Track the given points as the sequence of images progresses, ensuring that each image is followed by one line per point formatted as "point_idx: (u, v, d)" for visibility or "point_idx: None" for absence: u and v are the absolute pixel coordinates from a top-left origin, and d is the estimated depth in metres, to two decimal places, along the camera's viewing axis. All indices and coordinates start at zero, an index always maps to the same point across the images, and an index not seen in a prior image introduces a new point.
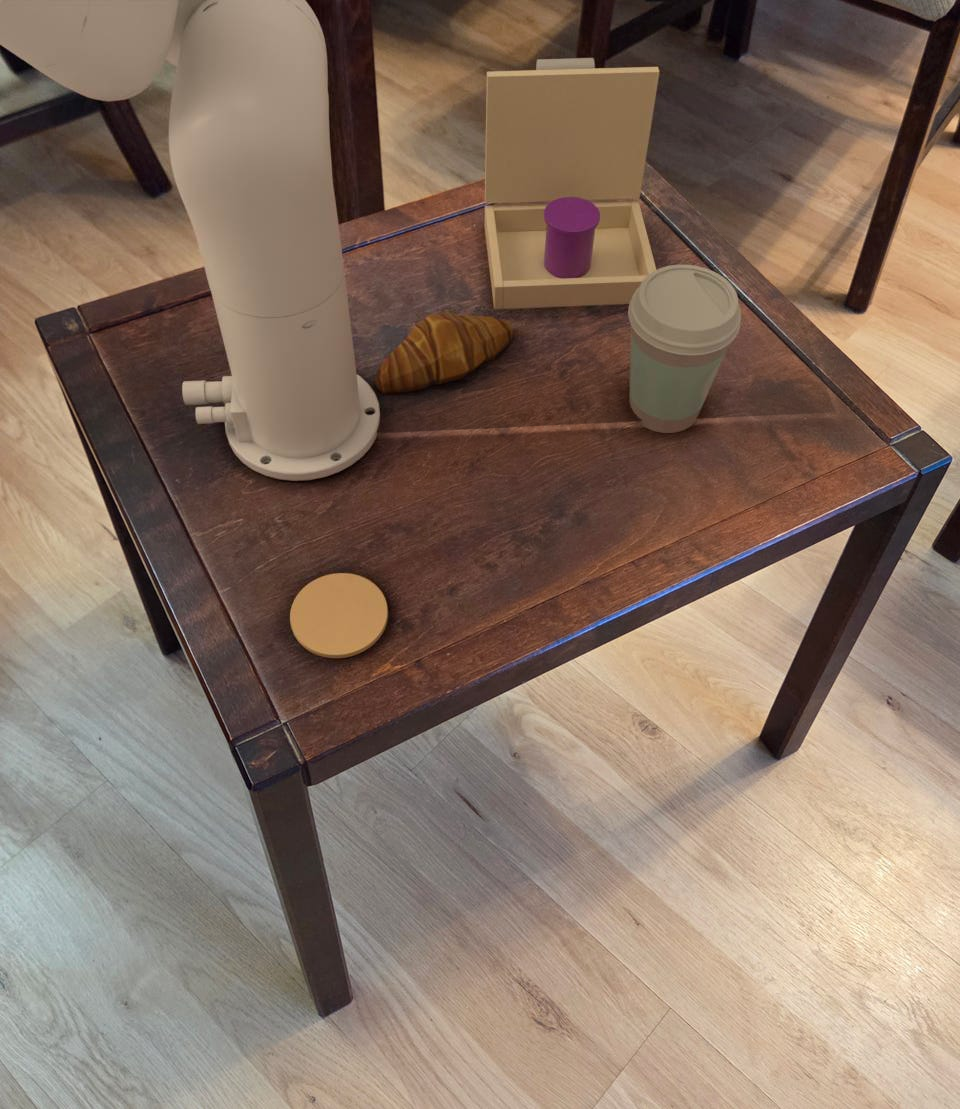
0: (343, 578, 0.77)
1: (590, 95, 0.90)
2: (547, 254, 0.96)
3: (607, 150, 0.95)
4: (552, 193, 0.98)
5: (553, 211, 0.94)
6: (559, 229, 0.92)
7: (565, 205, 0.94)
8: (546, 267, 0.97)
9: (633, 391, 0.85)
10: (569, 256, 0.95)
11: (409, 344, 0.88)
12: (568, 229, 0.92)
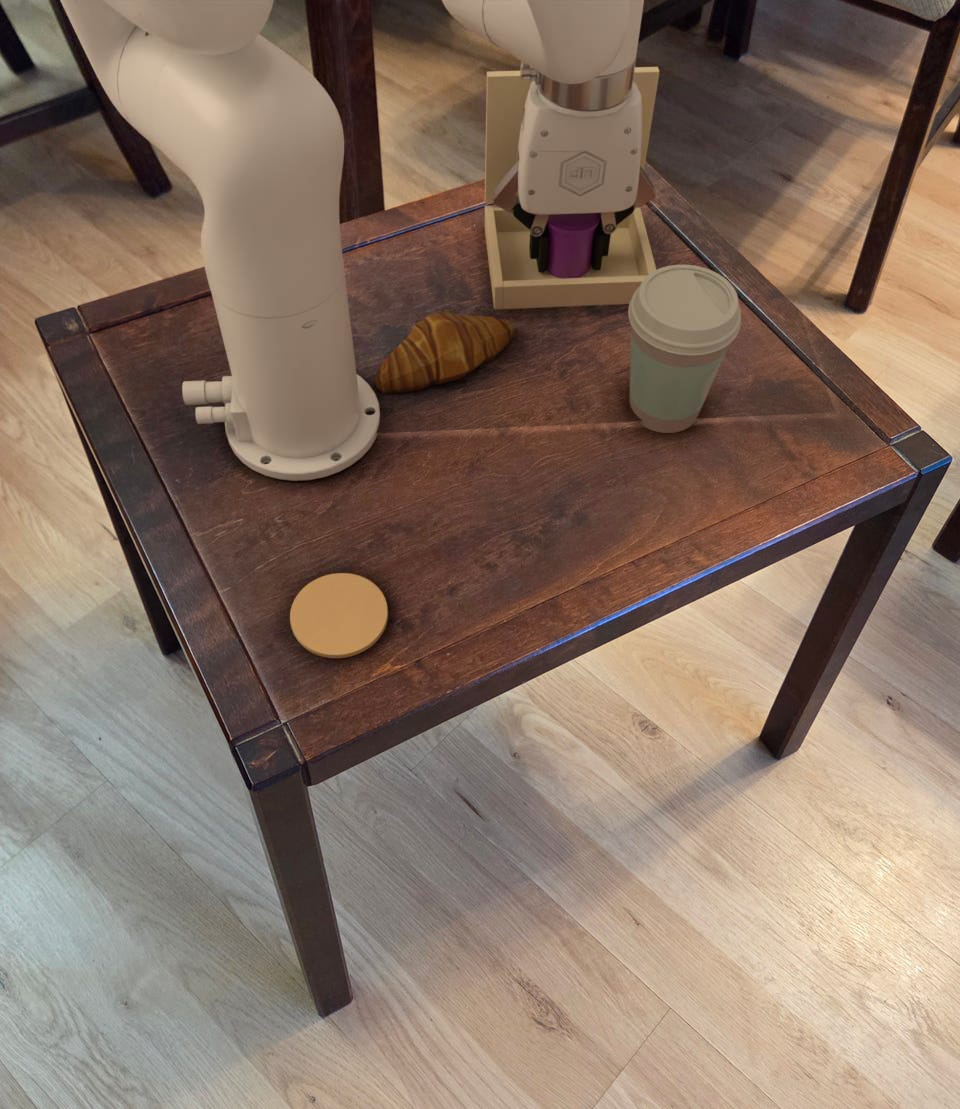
0: (343, 578, 0.77)
1: None
2: None
3: None
4: None
5: None
6: (559, 229, 0.92)
7: None
8: None
9: (633, 391, 0.85)
10: (569, 256, 0.95)
11: (409, 344, 0.88)
12: (568, 228, 0.92)
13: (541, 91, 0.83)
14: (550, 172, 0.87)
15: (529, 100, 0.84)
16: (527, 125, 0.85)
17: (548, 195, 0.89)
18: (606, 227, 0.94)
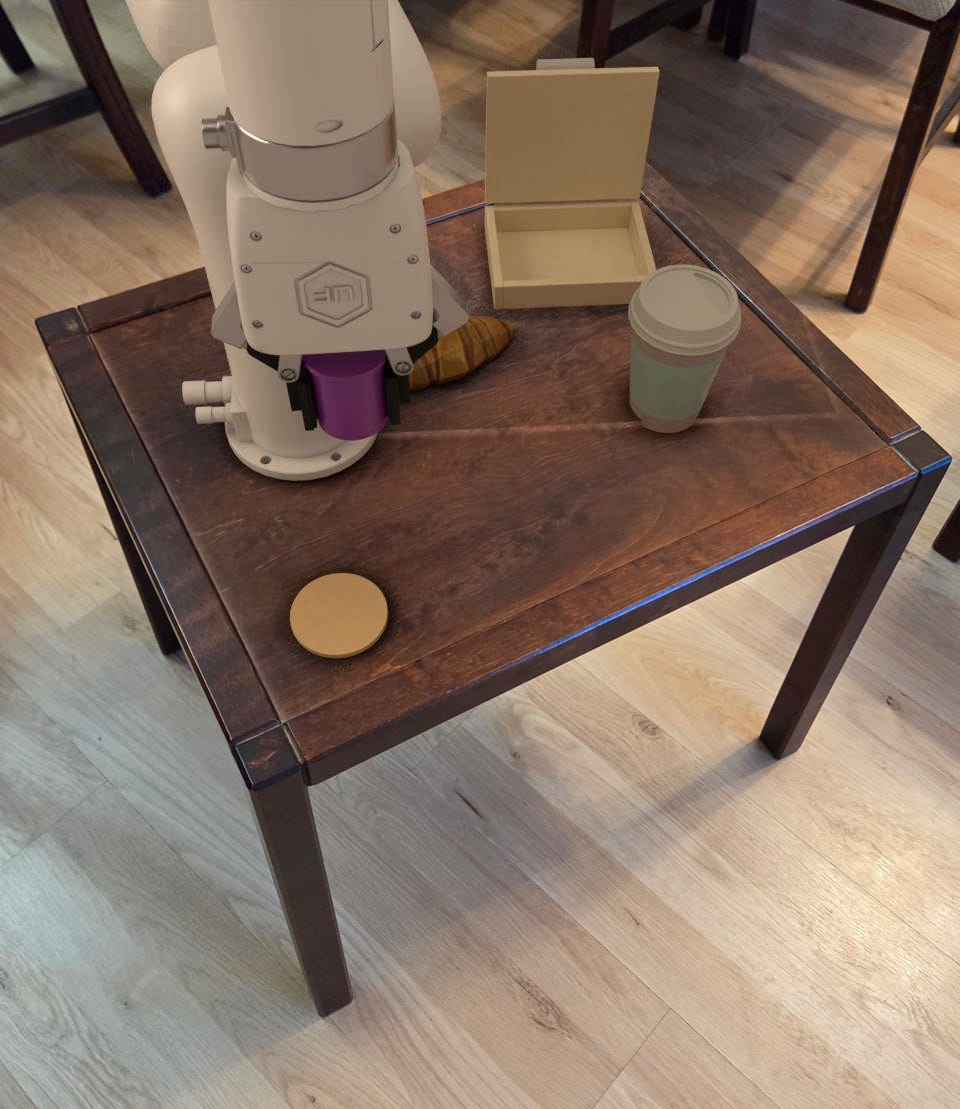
0: (343, 578, 0.77)
1: (590, 95, 0.90)
2: (315, 405, 0.63)
3: (607, 150, 0.95)
4: (552, 193, 0.98)
5: None
6: (320, 373, 0.59)
7: None
8: (319, 422, 0.64)
9: (633, 391, 0.85)
10: (345, 410, 0.61)
11: None
12: (333, 372, 0.59)
13: (240, 168, 0.49)
14: (280, 294, 0.53)
15: (227, 182, 0.50)
16: (228, 223, 0.51)
17: (286, 328, 0.55)
18: (398, 366, 0.60)
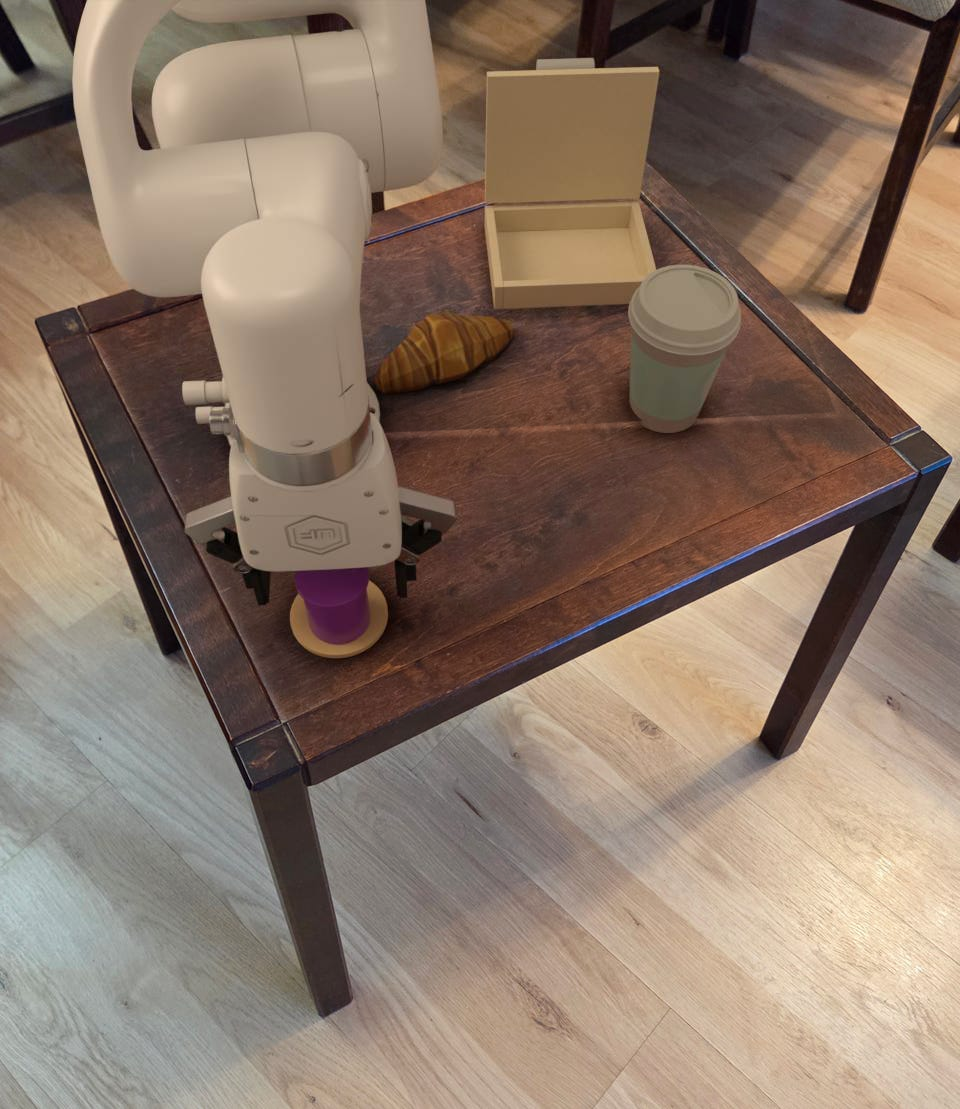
0: None
1: (590, 95, 0.90)
2: (307, 615, 0.74)
3: (607, 150, 0.95)
4: (552, 193, 0.98)
5: (307, 570, 0.71)
6: (311, 601, 0.70)
7: None
8: (310, 626, 0.75)
9: (633, 391, 0.85)
10: (332, 625, 0.72)
11: (409, 344, 0.88)
12: (322, 601, 0.70)
13: (241, 451, 0.60)
14: (273, 535, 0.64)
15: None
16: (230, 485, 0.62)
17: (278, 555, 0.66)
18: (406, 559, 0.70)
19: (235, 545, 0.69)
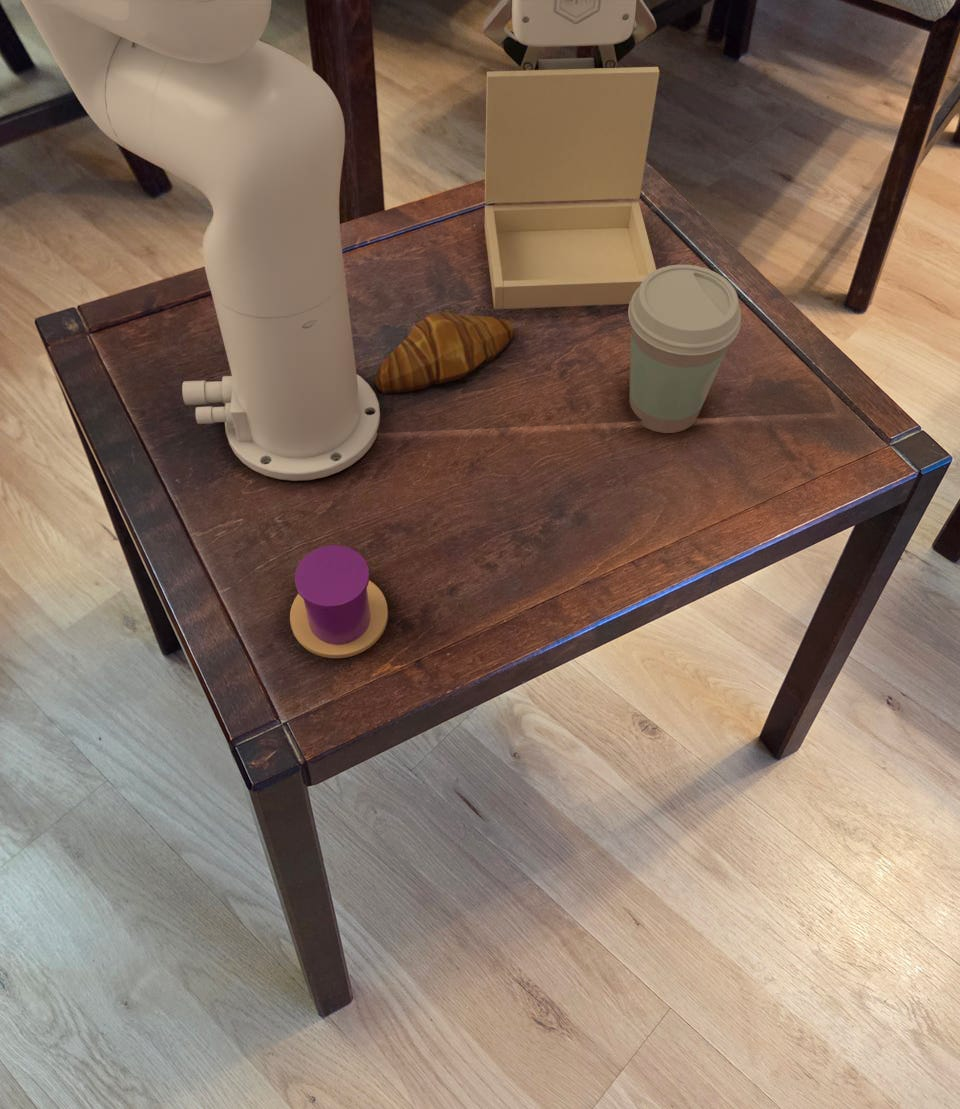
0: None
1: (590, 95, 0.90)
2: (307, 615, 0.74)
3: (607, 150, 0.95)
4: (552, 193, 0.98)
5: (307, 570, 0.71)
6: (311, 601, 0.70)
7: (325, 560, 0.72)
8: (310, 626, 0.75)
9: (633, 391, 0.85)
10: (332, 625, 0.72)
11: (409, 344, 0.88)
12: (322, 601, 0.70)
13: None
14: None
15: None
16: None
17: (543, 23, 0.86)
18: (606, 64, 0.91)
19: (523, 47, 0.91)
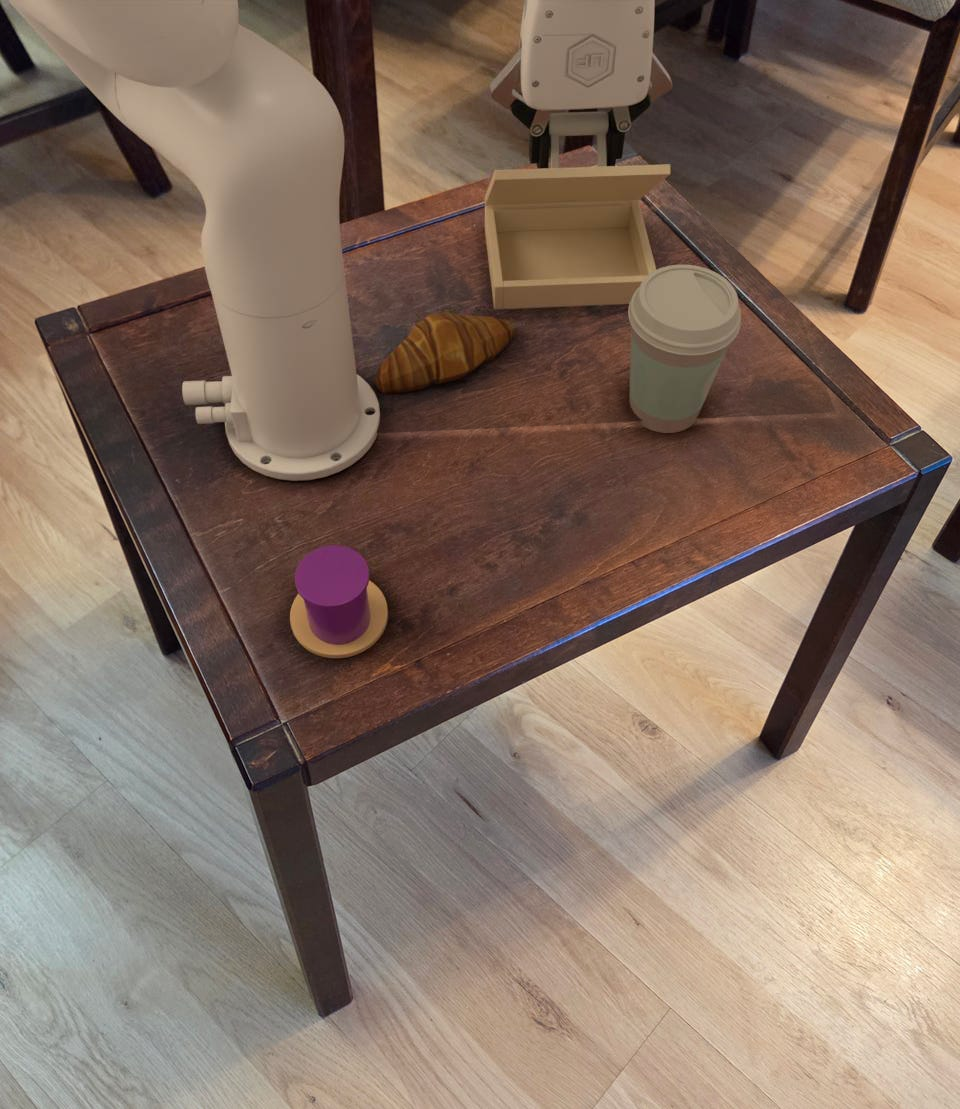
0: None
1: (598, 181, 0.89)
2: (307, 615, 0.74)
3: (610, 191, 0.94)
4: (552, 201, 0.98)
5: (307, 570, 0.71)
6: (311, 601, 0.70)
7: (325, 560, 0.72)
8: (310, 626, 0.75)
9: (633, 391, 0.85)
10: (332, 625, 0.72)
11: (409, 344, 0.88)
12: (322, 601, 0.70)
13: None
14: (555, 60, 0.80)
15: None
16: (530, 6, 0.78)
17: (553, 87, 0.82)
18: (620, 124, 0.87)
19: (532, 109, 0.86)
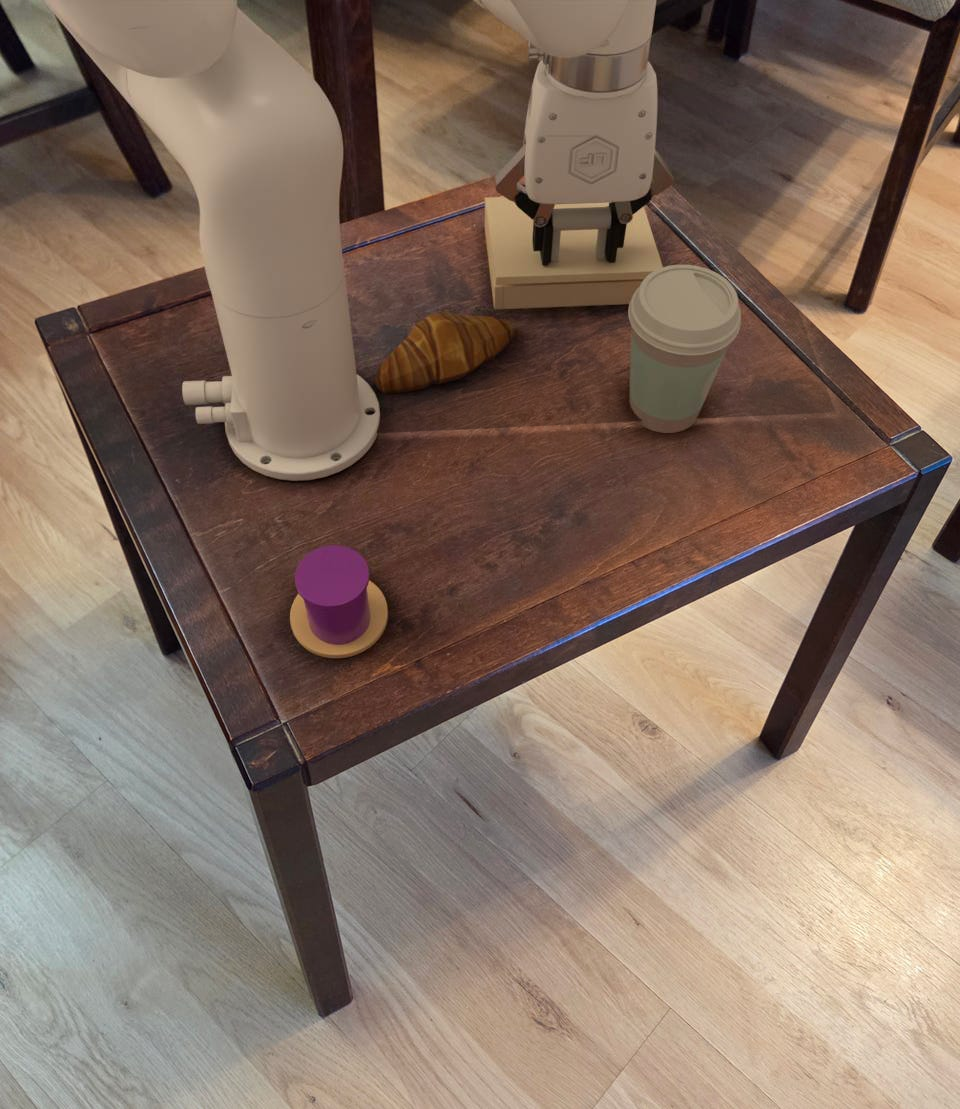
0: None
1: None
2: (307, 615, 0.74)
3: None
4: None
5: (307, 570, 0.71)
6: (311, 601, 0.70)
7: (325, 560, 0.72)
8: (310, 626, 0.75)
9: (633, 391, 0.85)
10: (332, 625, 0.72)
11: (409, 344, 0.88)
12: (322, 601, 0.70)
13: (549, 71, 0.77)
14: (559, 158, 0.81)
15: (537, 81, 0.78)
16: (534, 108, 0.79)
17: (557, 183, 0.83)
18: (622, 217, 0.88)
19: None
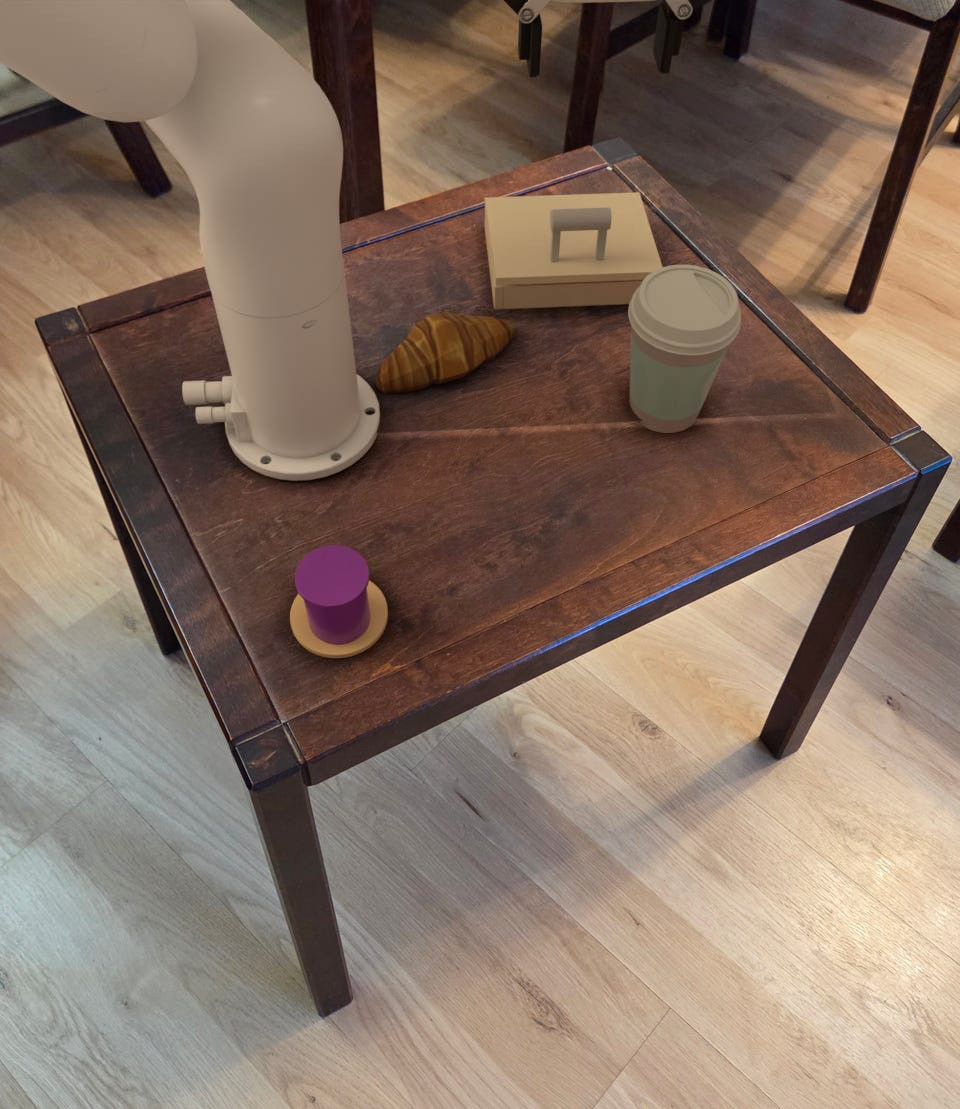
0: None
1: None
2: (307, 615, 0.74)
3: None
4: None
5: (307, 570, 0.71)
6: (311, 601, 0.70)
7: (325, 560, 0.72)
8: (310, 626, 0.75)
9: (633, 391, 0.85)
10: (332, 625, 0.72)
11: (409, 344, 0.88)
12: (322, 601, 0.70)
13: None
14: None
15: None
16: None
17: None
18: (679, 10, 0.74)
19: None
